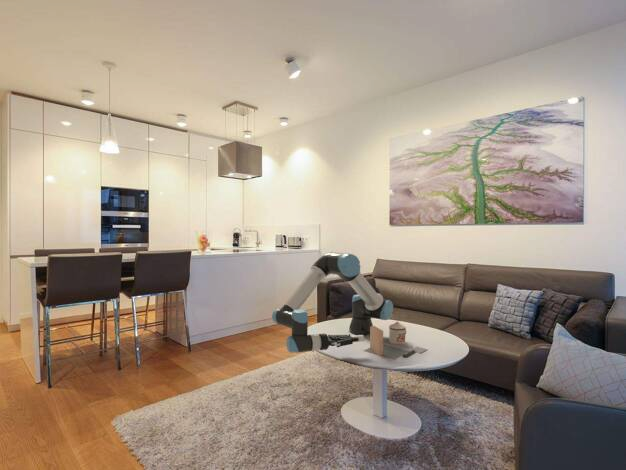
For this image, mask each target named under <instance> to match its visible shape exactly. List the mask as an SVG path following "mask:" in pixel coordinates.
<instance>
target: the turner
mask: <svg viewBox="0 0 626 470" xmlns="http://www.w3.org/2000/svg"><path fill="white" fill-rule="evenodd" d="M427 350H428V348H423V347H421V346H414V347H413V348H412V349H411V350H409V352H408V353H406V354H404V355H402V358H405V359H406V358H408V357H410V356H412V355H413V354H415V353H418V354H423V353H424V352H426V351H427Z"/></svg>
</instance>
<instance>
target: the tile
mask: <svg viewBox="0 0 626 470" xmlns="http://www.w3.org/2000/svg"><path fill="white" fill-rule="evenodd" d="M383 344H384V330H382V329H381V328H379V327H377V326H375V325H373V326H370V334H369V348H370V350H372V351H373V352H375V353H376V354H377V356H380V355H383ZM376 354H375V355H376Z"/></svg>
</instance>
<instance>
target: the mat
mask: <svg viewBox="0 0 626 470" xmlns="http://www.w3.org/2000/svg"><path fill="white" fill-rule="evenodd" d="M363 352H366V353H369V354H373V355H377V354H376V353H375V352H373V351H372V350H370V347H368V348H366V349H364V350H363ZM408 352H410V350H407V349H403V348H399V347H395V346H392V345H391V346H390V345H387V344H384V343H383V355H379V356H380V357H384V358H388V359H391V360H396V359H398V358H401V357H403V355H404V354H406V353H408ZM377 356H378V355H377Z"/></svg>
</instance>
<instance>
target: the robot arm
mask: <svg viewBox="0 0 626 470" xmlns="http://www.w3.org/2000/svg"><path fill="white" fill-rule="evenodd" d="M329 275H336V276H338V277H339V278H340V279H341V280H342V281H343V282H346V283H348V285H350V287H351V288H352V289H353V290H354V292H355V293H357V294H354V295H353V296H352V298H351V299H352V300H351V308H352V309H351V313H352V314H351V317H352V319H351V320H350V324H349V327H348V331H349V332H350V333H351V334H353V335H351V334H350V333H349V334H327V333H316V334H315V333H314V334H308V329H309V328H308V326H309V323H308V322H309V316H308V311H307V310H306V309H302V306H303V305H304V304H305V302H307V300H308V299H309V297H310V296H311V294H312V293H313V291H314V290H315V289H316V288H317V286H319V284H320V283H321V281H322V280H325V279H326V278H327V276H329ZM393 313H394V304H393V302H392V301H391V300H389V299H386V298H385V297H384V296H383V294H381V293H378V292H377V291H376V290H375V289H374V287H372V285H371V284H370V283H369V282H368V280H367V279H366V278H365V277H364V275H363V274H362V273H361V261H360V259H359V258H358V256H357V255H355V254H352V253H349V252H348V253H347V252H334V251H333V252H332V251H331V252H328V253H325V254H323V255H322V256H320V257H319V258H318V259H317V260H316V261H315V262H314V263H313V264H312V266H310V272H309V273H308V274H307V275H306V277H304V279H303V280H302V282H301V283H300V284H299V285H298V286H297V287H296V289H295V290H294V291H293V292H292V294H291V295H290V297H289V298H288V300H287V301H286V302H285V303H284V304H283V306H282V307H281V308H276V309H274V311H273V312H272V315H271V318H272V321H273V322H274V324H277V325H279V326H284V327H286V328H289V329H291V335H290V336H287V338H286V349H287V351H288V353H289V354H294V353H295V354H299V353H306V352H313V353H314V352H315V351H316V352H317V351H326V350H328V349H329V347H330V346H331V347H334V346H336V347H337V348H341V347H343V346H349V345H353V343H358V342H359V343H360V342H364V341H365V336H366V335H367V336H368V335H370V326H374V324H373V320H372V318H373V319H378V320H381V321H387V320H389V319H390V318H391V317H392V314H393Z"/></svg>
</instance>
